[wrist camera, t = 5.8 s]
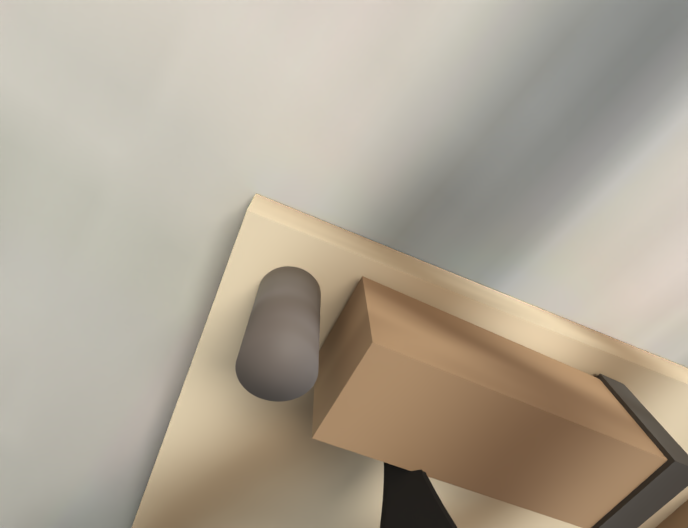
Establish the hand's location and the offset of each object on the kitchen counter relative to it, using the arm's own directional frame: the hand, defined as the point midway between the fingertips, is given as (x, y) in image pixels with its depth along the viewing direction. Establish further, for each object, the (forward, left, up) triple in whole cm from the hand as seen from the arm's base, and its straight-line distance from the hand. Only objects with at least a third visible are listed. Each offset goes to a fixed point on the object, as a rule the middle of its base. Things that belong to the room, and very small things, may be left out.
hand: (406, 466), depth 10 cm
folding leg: (-1, -2, -1) cm, 3 cm away
